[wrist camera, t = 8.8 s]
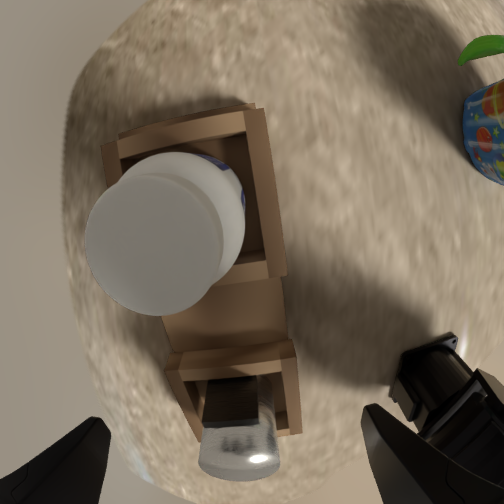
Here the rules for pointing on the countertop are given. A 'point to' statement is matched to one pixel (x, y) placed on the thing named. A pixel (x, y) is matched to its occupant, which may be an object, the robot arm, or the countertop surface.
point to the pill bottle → (166, 232)
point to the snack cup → (485, 114)
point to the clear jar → (239, 429)
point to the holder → (239, 275)
